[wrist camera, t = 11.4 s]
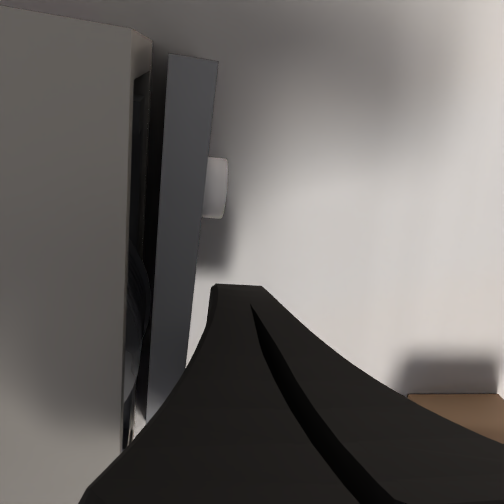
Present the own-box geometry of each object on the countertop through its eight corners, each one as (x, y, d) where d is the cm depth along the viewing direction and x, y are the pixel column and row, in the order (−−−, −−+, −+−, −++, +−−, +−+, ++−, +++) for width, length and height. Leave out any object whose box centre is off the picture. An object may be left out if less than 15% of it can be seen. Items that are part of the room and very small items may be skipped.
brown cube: (462, 463, 18) (521, 548, 15) (379, 466, 17) (424, 558, 14) (497, 393, 16) (573, 473, 13) (408, 394, 16) (466, 479, 12)
